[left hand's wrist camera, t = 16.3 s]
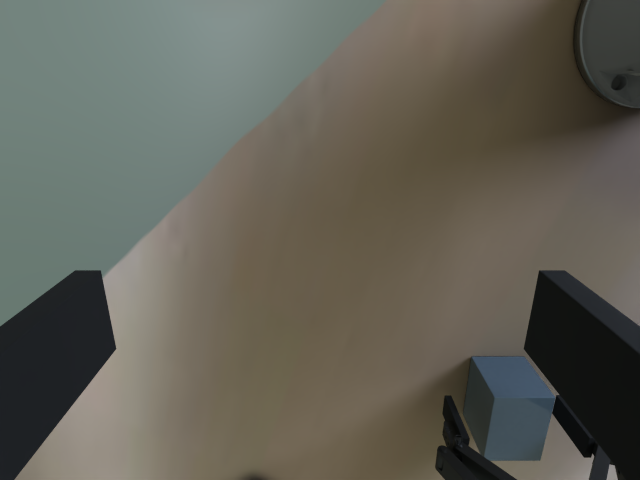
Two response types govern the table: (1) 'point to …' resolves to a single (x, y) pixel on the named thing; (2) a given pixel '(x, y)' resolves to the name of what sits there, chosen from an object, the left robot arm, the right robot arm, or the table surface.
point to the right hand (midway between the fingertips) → (501, 404)
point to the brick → (507, 408)
